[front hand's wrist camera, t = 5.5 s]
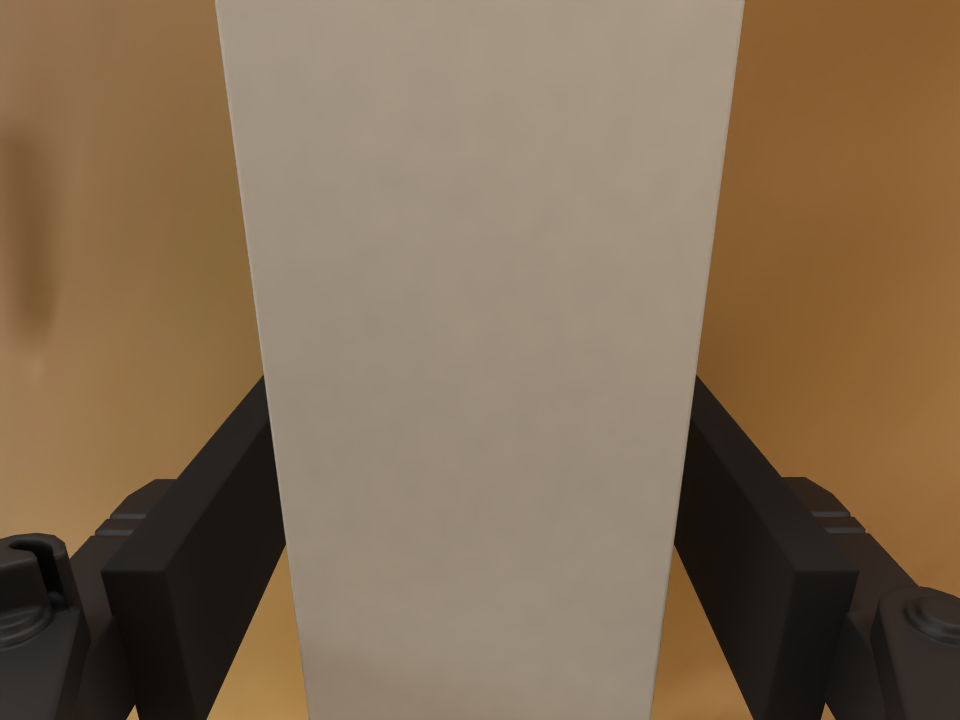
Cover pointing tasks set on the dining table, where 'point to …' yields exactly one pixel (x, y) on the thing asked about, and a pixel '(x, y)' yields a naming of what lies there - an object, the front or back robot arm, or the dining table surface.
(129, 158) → the dining table surface
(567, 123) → the bar
